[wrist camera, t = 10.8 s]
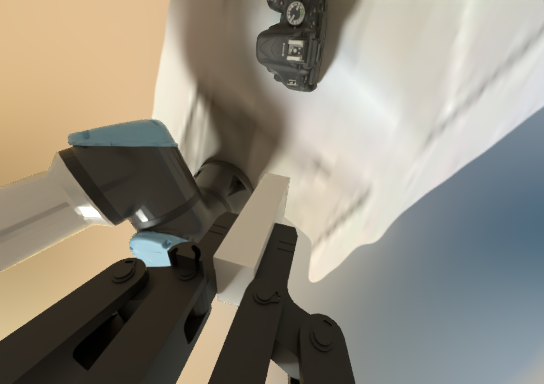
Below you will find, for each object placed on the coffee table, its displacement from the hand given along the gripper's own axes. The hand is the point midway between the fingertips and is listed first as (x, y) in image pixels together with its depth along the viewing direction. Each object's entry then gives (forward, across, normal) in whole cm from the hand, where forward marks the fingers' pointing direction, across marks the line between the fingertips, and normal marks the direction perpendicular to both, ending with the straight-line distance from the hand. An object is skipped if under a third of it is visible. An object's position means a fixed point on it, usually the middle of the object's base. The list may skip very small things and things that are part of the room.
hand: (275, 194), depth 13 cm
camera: (+30, -4, +9) cm, 31 cm away
